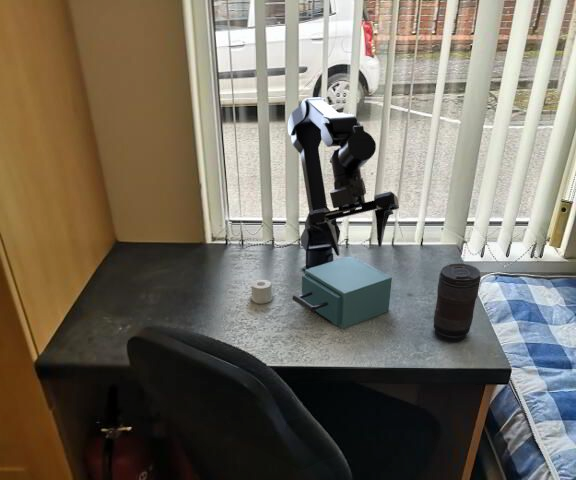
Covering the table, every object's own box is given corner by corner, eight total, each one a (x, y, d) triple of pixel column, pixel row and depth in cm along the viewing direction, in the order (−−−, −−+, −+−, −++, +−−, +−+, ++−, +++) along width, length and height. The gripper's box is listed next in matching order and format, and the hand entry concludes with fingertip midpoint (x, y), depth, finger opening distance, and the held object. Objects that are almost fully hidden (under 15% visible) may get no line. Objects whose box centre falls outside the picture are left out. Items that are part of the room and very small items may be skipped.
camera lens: (426, 326, 127) (435, 263, 118) (461, 324, 127) (473, 261, 118) (436, 345, 120) (447, 280, 111) (474, 343, 121) (488, 278, 112)
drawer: (318, 332, 124) (319, 304, 120) (284, 307, 133) (284, 281, 129) (379, 309, 131) (382, 282, 127) (343, 288, 140) (344, 262, 136)
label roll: (247, 300, 138) (246, 284, 135) (260, 292, 141) (259, 277, 139) (263, 305, 136) (262, 290, 133) (275, 297, 139) (275, 282, 136)
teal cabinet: (342, 328, 126) (344, 293, 121) (304, 303, 136) (304, 269, 131) (388, 311, 133) (392, 277, 127) (348, 288, 142) (350, 255, 137)
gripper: (293, 180, 117) (305, 256, 118) (383, 155, 110) (395, 236, 111) (310, 191, 127) (321, 261, 128) (393, 169, 120) (404, 243, 121)
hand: (358, 251), depth 122 cm, fingers open, 9 cm apart
